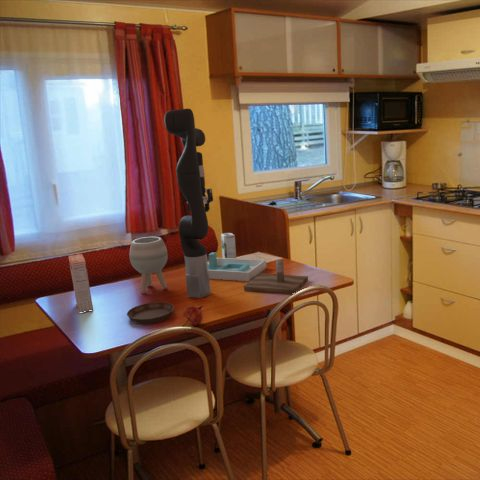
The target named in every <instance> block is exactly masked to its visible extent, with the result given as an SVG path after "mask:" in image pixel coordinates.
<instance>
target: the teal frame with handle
mask: <svg viewBox="0 0 480 480" xmlns="http://www.w3.org/2000/svg"><path fill="white" fill-rule="evenodd" d="M217 258H218V257H217V252H213V251H212V252H210V253H209V254H208V263H209V265H210V270H224V271H241V272H245V271H246V270H248V269H249V268H250V264H244V263H225V264H224V265H217ZM228 268H238V269H237V270H232V269H228Z"/></svg>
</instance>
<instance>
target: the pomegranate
mask: <svg viewBox="0 0 480 480" xmlns="http://www.w3.org/2000/svg"><path fill="white" fill-rule="evenodd" d="M203 308H204V306H203V305H200V306H199V307H197V306H195V305H192V306H191V305H189V306H187V307H186V308H185V310H184V311H183V313H182V316H183V317H185V319H187V321H185V323H184V324H183V325H182V327H185V325H186V324H188V322H189V323H191V324H192V325H193V326H194V327H195V326H199V325H200V324H202V323H201V322H202V321H203V318H204V314H203V312H202V310H201V309H203Z"/></svg>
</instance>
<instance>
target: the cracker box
mask: <svg viewBox="0 0 480 480" xmlns="http://www.w3.org/2000/svg"><path fill="white" fill-rule="evenodd" d="M68 261H69V262H68V263H69V268H70V274H71V279H72V286H73V291H74V297H75V303H76V307H77V310H78V313H79V312H84V311H89V310H93V311H94V306H93V299H92V295H91V288H90V281H89V275H88V269H87V263H86V260H85V257H84V256H83V254H82V253H80V254H73V255H72V254H71V255H68Z"/></svg>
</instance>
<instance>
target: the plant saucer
mask: <svg viewBox="0 0 480 480" xmlns="http://www.w3.org/2000/svg"><path fill="white" fill-rule="evenodd" d="M174 310H175V306H174V305H173V304H172V303H170V302H164V301H163V302H162V301H158V302H157V301H155V302H148V303H147V302H146V303H143V304H139V305H136V306H134V307H132V308H131V309H129V310H128V311H127V313H126V316H127V317H128V319H130V320H131V321H132V322H133V323H135V322H136V324H139V323H141V325H149V324H155V323H159V322H162V321H165V320H166V319H168V318H169V317H170V316H171V314H172V313H173V311H174Z"/></svg>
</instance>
